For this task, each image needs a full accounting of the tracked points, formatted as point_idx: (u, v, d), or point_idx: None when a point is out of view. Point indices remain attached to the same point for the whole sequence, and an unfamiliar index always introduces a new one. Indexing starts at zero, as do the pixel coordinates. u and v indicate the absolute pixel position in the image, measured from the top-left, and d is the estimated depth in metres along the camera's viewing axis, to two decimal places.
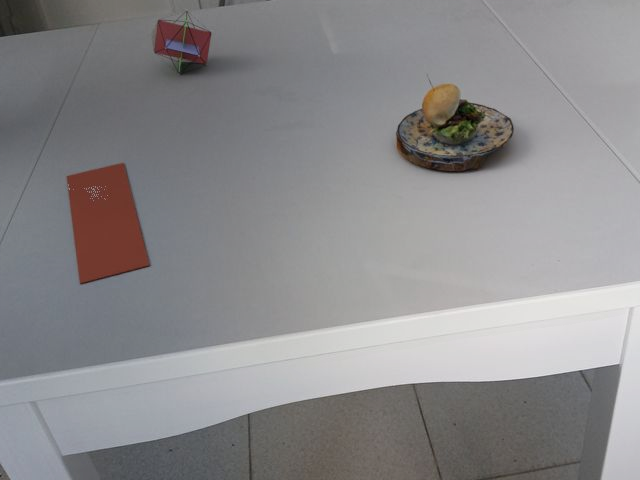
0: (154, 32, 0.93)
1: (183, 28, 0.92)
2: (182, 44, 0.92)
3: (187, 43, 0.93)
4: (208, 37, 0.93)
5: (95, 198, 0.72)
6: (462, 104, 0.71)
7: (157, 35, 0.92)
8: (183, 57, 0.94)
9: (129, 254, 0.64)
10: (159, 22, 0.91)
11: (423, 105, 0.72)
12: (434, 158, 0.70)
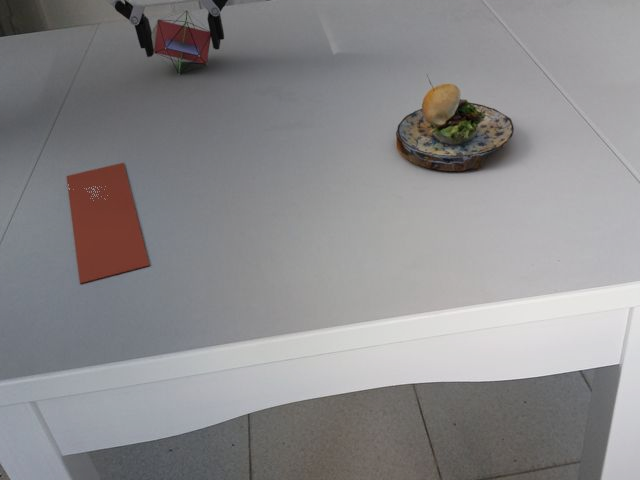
0: (154, 32, 0.93)
1: (183, 28, 0.92)
2: (182, 44, 0.92)
3: (187, 43, 0.93)
4: (208, 37, 0.93)
5: (95, 198, 0.72)
6: (462, 104, 0.71)
7: (157, 35, 0.92)
8: (183, 57, 0.94)
9: (129, 254, 0.64)
10: (159, 22, 0.91)
11: (423, 105, 0.72)
12: (434, 158, 0.70)
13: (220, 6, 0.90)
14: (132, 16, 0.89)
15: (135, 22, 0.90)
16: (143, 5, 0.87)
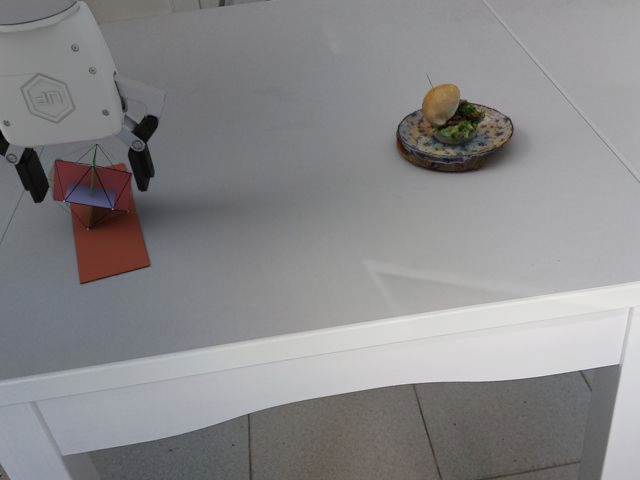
0: (52, 173, 0.67)
1: (92, 169, 0.66)
2: (91, 190, 0.67)
3: (99, 187, 0.68)
4: (128, 179, 0.68)
5: None
6: (462, 104, 0.71)
7: (56, 179, 0.66)
8: None
9: (129, 254, 0.64)
10: (57, 163, 0.65)
11: (423, 105, 0.72)
12: (434, 158, 0.70)
13: (144, 138, 0.64)
14: (8, 153, 0.63)
15: (13, 161, 0.64)
16: (29, 147, 0.62)
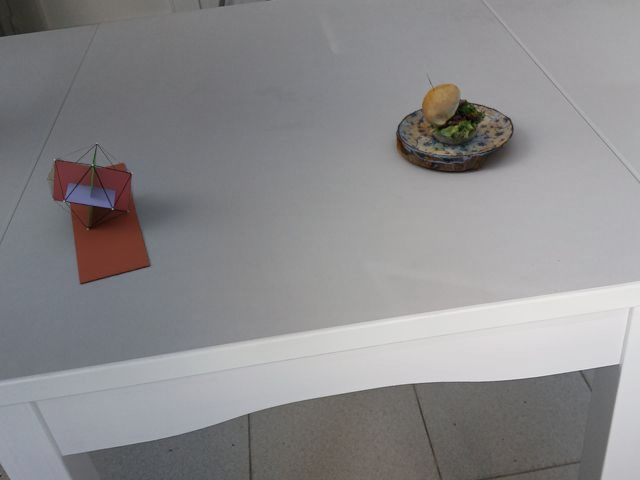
0: (52, 173, 0.67)
1: (92, 169, 0.66)
2: (91, 190, 0.67)
3: (99, 187, 0.68)
4: (128, 179, 0.68)
5: None
6: (462, 104, 0.71)
7: (56, 179, 0.66)
8: None
9: (129, 254, 0.64)
10: (57, 163, 0.65)
11: (423, 105, 0.72)
12: (434, 158, 0.70)
13: None
14: None
15: None
16: None
